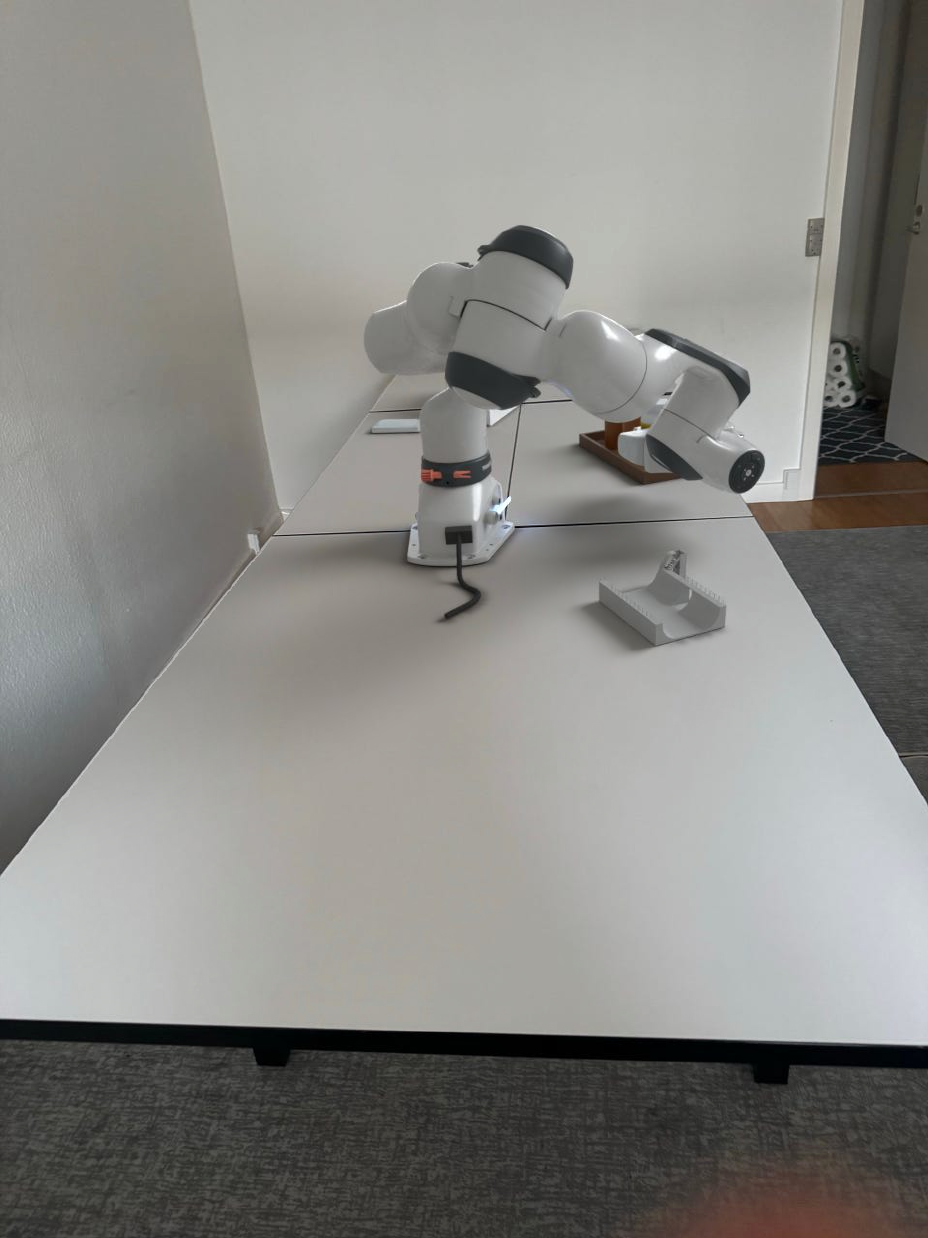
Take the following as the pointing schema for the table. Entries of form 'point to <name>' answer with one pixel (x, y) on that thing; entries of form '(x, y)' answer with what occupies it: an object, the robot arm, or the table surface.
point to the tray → (620, 459)
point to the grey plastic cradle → (666, 604)
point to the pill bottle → (652, 414)
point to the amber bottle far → (612, 434)
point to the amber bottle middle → (631, 425)
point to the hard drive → (396, 426)
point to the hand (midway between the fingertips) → (655, 428)
